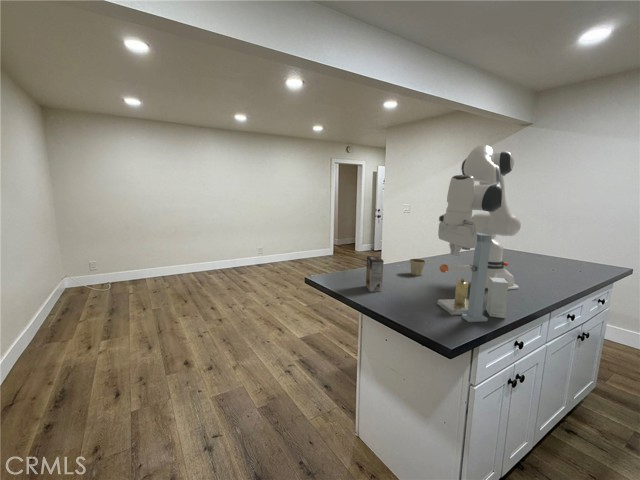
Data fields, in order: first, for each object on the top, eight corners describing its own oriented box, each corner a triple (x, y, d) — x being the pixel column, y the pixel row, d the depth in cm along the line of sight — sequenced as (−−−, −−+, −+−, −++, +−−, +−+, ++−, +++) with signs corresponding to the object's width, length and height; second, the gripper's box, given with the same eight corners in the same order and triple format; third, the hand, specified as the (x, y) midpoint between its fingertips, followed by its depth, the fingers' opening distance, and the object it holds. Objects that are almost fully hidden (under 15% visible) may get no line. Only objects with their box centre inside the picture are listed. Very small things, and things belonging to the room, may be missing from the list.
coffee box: (365, 285, 157) (366, 255, 154) (377, 285, 158) (378, 255, 155) (369, 291, 148) (371, 260, 145) (382, 291, 149) (384, 260, 146)
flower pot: (425, 277, 175) (426, 262, 173) (409, 275, 177) (410, 261, 175) (423, 272, 184) (424, 259, 182) (407, 271, 186) (408, 258, 184)
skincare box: (505, 319, 120) (510, 283, 117) (488, 316, 122) (492, 281, 119) (500, 311, 127) (505, 277, 125) (484, 309, 129) (488, 276, 127)
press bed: (466, 303, 136) (466, 298, 135) (483, 314, 124) (484, 309, 124) (437, 303, 134) (437, 299, 134) (452, 315, 122) (452, 310, 122)
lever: (471, 270, 117) (472, 262, 117) (476, 273, 114) (477, 265, 113) (437, 271, 115) (438, 263, 115) (441, 273, 112) (442, 265, 112)
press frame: (465, 306, 132) (473, 230, 126) (487, 321, 117) (498, 235, 111) (448, 307, 131) (455, 230, 125) (468, 321, 116) (478, 235, 110)
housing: (462, 302, 131) (464, 277, 129) (468, 306, 127) (471, 280, 125) (452, 302, 131) (454, 277, 129) (458, 306, 126) (460, 280, 124)
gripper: (484, 222, 101) (479, 261, 104) (451, 216, 121) (448, 249, 124) (466, 222, 100) (462, 262, 103) (436, 216, 120) (433, 249, 123)
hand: (454, 255), depth 113 cm, fingers closed
